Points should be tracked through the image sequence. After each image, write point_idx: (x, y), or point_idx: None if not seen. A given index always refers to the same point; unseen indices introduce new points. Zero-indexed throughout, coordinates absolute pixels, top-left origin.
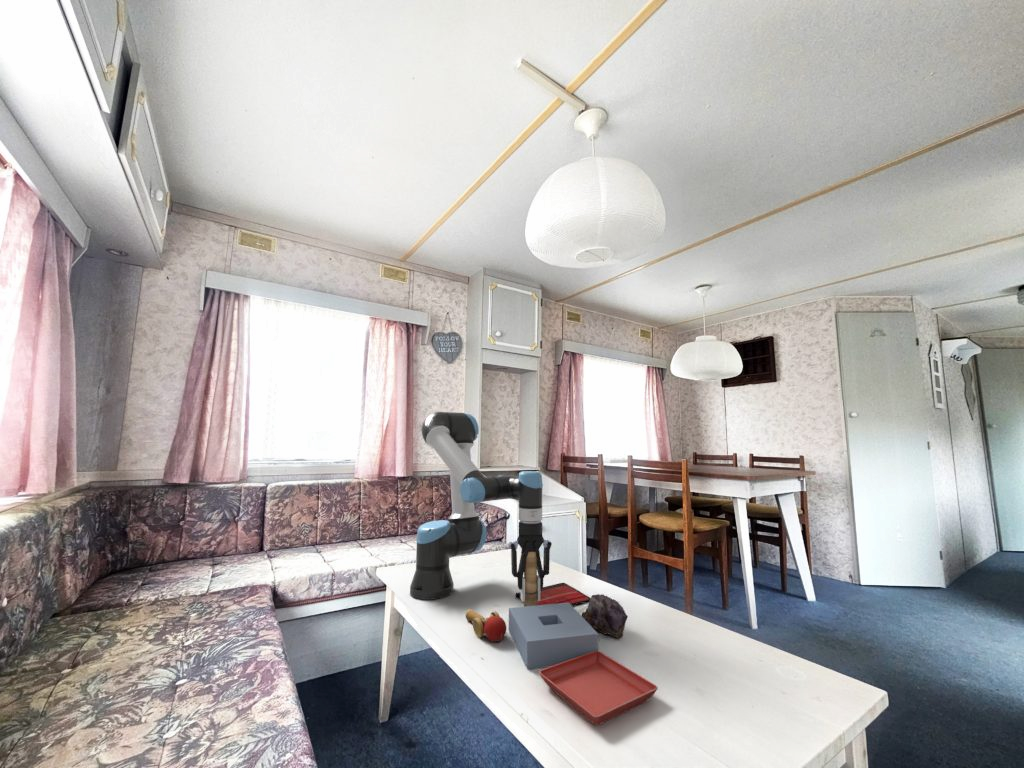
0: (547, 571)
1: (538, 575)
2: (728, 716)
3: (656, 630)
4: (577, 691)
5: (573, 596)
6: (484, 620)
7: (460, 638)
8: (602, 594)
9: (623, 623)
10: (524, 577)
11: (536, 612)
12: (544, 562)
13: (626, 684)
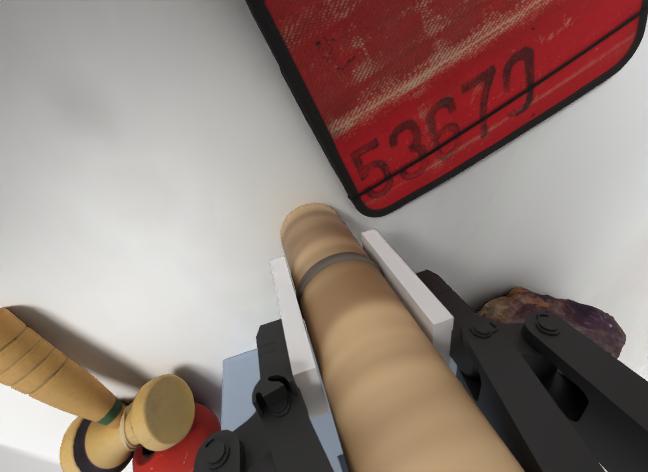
0: (543, 382)
1: (454, 338)
2: None
3: (613, 286)
4: None
5: (581, 23)
6: (119, 455)
7: (46, 434)
8: (617, 357)
9: None
10: (327, 398)
11: (337, 437)
12: (619, 442)
13: None
